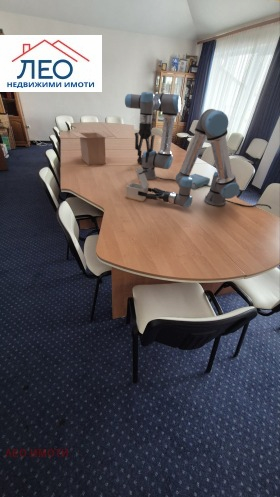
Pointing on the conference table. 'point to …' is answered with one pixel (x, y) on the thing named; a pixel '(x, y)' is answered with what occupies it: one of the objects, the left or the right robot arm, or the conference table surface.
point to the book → (199, 180)
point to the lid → (142, 177)
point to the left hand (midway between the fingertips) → (143, 161)
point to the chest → (135, 191)
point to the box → (92, 146)
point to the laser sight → (141, 160)
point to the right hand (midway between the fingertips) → (141, 190)
